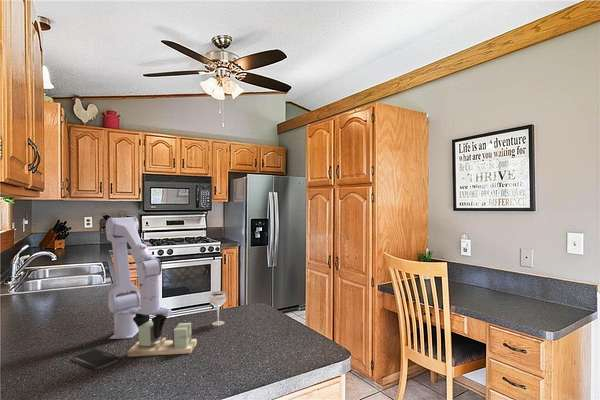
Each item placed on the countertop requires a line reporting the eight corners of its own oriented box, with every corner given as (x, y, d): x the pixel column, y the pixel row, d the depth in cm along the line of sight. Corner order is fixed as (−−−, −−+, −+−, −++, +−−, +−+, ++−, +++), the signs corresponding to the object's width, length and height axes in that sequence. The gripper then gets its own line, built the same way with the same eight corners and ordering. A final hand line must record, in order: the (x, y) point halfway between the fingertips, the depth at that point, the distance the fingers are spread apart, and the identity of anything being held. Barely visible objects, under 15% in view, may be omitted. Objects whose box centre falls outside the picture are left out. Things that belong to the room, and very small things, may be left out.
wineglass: (214, 327, 135) (213, 296, 135) (206, 323, 140) (206, 293, 140) (230, 323, 139) (229, 293, 139) (222, 319, 144) (221, 290, 144)
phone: (96, 368, 102) (70, 357, 110) (96, 372, 102) (71, 360, 110) (122, 357, 109) (96, 347, 117) (122, 361, 109) (96, 351, 117)
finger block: (138, 345, 113) (138, 326, 113) (150, 337, 119) (150, 320, 119) (151, 346, 112) (150, 327, 112) (162, 338, 118) (162, 321, 118)
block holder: (137, 346, 119) (137, 324, 119) (196, 343, 120) (196, 321, 120) (127, 356, 111) (126, 333, 111) (190, 353, 112) (190, 330, 112)
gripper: (176, 293, 118) (177, 333, 118) (138, 292, 121) (139, 331, 121) (163, 299, 111) (165, 341, 111) (124, 297, 114) (125, 339, 114)
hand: (150, 336), depth 115 cm, fingers closed on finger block, 5 cm apart
